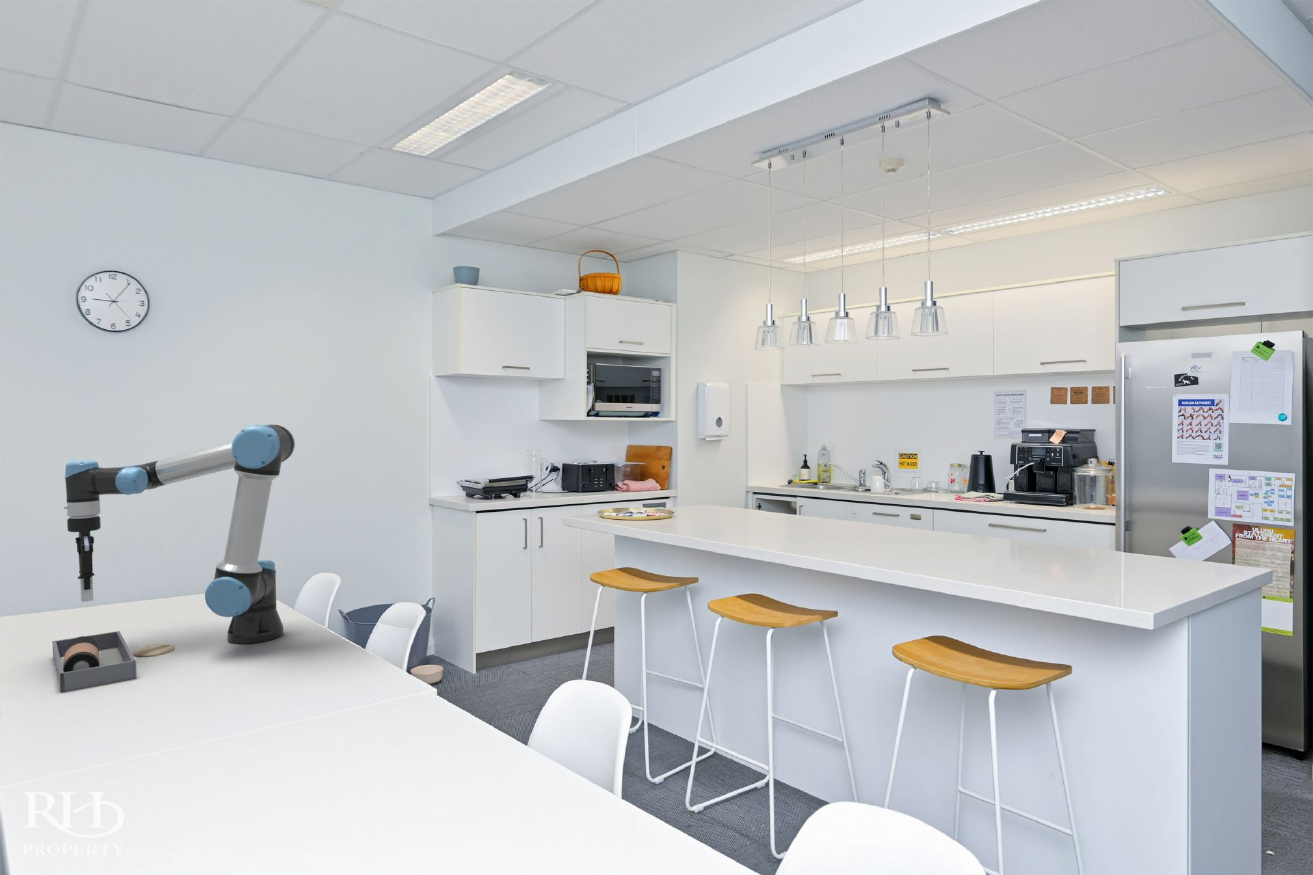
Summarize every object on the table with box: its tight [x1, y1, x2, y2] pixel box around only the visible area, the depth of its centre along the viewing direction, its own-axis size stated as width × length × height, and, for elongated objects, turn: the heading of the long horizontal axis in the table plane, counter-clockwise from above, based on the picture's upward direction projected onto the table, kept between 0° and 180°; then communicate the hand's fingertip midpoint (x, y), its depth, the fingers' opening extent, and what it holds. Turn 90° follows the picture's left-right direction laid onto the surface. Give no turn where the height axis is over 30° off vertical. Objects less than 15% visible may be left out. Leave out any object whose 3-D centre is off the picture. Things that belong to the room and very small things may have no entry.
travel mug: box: [62, 635, 100, 672], centre depth 211 cm, size 8×8×20 cm
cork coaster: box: [132, 644, 175, 658], centre depth 229 cm, size 10×10×1 cm
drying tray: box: [51, 630, 137, 693], centre depth 216 cm, size 37×16×4 cm, turn 39°
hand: (87, 600), depth 225 cm, fingers closed
